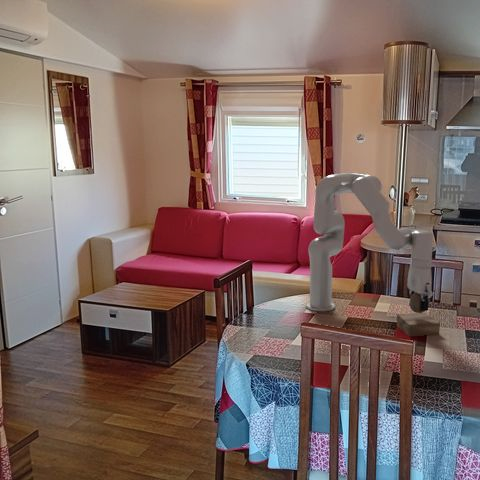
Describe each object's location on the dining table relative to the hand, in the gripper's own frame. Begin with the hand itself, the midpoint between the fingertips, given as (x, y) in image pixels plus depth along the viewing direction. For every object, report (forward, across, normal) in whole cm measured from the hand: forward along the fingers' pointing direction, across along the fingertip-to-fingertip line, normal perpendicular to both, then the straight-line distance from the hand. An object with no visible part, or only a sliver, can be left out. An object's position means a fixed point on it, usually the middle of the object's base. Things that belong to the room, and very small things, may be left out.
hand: (418, 307), depth 210 cm
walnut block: (+10, 0, 0) cm, 10 cm away
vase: (+2, 0, 0) cm, 2 cm away
